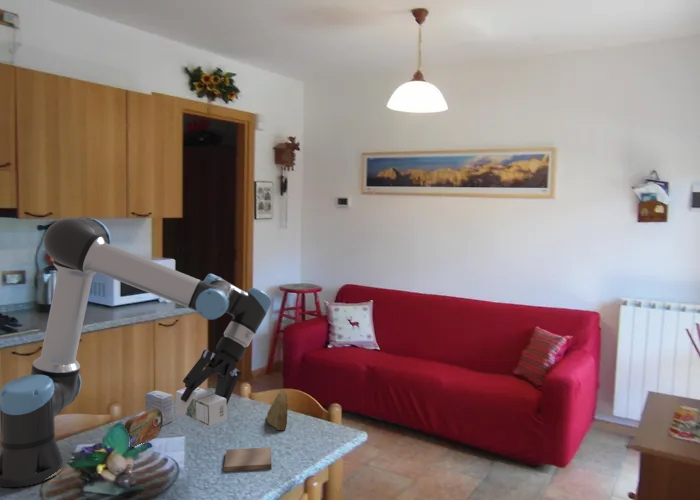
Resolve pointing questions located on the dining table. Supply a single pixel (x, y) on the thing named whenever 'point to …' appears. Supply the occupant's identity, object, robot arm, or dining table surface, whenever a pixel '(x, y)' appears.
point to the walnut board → (248, 459)
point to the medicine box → (161, 404)
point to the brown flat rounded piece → (144, 426)
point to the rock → (278, 412)
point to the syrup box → (205, 406)
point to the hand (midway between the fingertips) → (190, 420)
